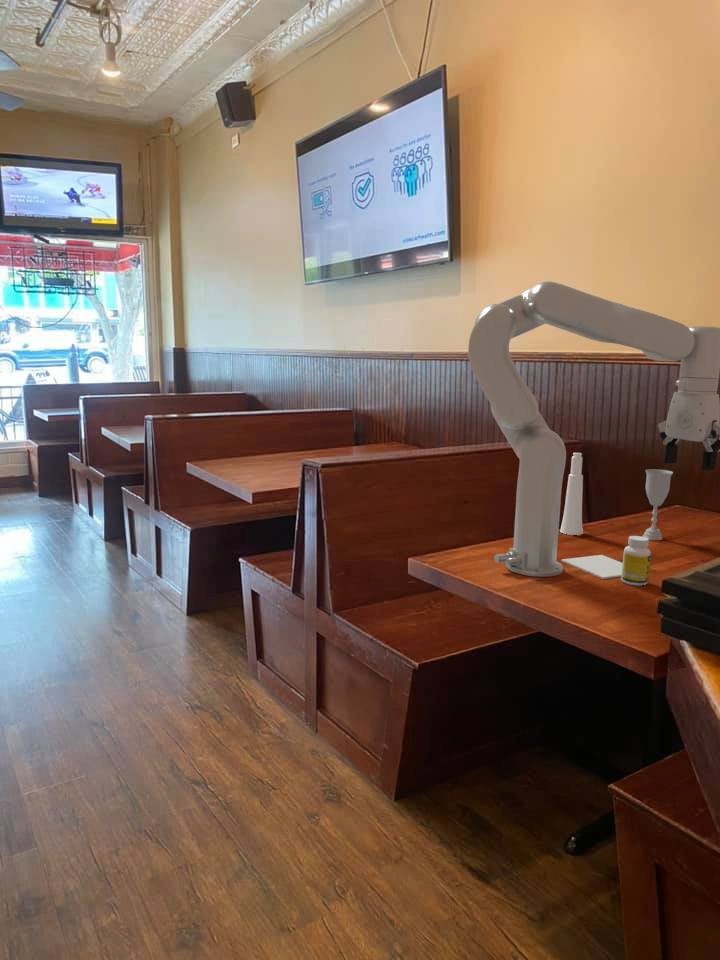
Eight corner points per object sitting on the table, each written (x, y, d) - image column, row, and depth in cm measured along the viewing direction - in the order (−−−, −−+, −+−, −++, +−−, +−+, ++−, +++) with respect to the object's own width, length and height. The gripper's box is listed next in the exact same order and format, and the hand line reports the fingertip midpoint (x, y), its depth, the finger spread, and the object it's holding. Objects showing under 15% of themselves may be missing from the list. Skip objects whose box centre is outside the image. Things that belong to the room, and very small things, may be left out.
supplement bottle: (650, 587, 146) (654, 542, 144) (623, 585, 147) (627, 540, 145) (645, 579, 151) (649, 535, 150) (619, 577, 152) (622, 534, 151)
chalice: (669, 541, 183) (676, 474, 180) (642, 540, 184) (648, 473, 181) (662, 534, 190) (668, 469, 187) (636, 533, 191) (642, 468, 188)
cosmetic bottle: (587, 535, 188) (593, 454, 184) (567, 536, 187) (573, 454, 183) (575, 529, 194) (581, 451, 190) (555, 530, 193) (561, 451, 189)
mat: (602, 579, 151) (602, 577, 151) (561, 561, 164) (561, 559, 164) (645, 573, 156) (645, 571, 156) (601, 556, 168) (601, 554, 168)
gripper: (652, 384, 153) (644, 461, 156) (721, 388, 138) (711, 474, 141) (676, 384, 156) (668, 459, 159) (747, 389, 141) (736, 472, 144)
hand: (688, 466), depth 150 cm, fingers open, 9 cm apart
